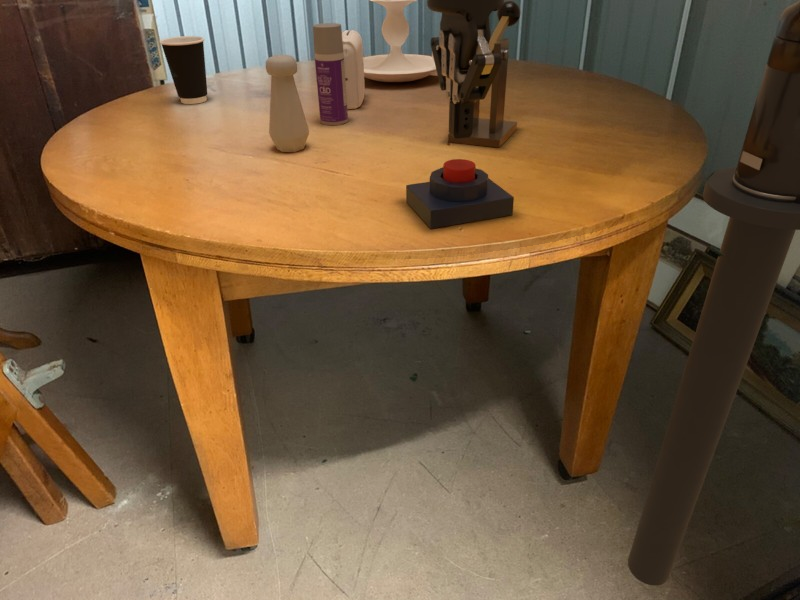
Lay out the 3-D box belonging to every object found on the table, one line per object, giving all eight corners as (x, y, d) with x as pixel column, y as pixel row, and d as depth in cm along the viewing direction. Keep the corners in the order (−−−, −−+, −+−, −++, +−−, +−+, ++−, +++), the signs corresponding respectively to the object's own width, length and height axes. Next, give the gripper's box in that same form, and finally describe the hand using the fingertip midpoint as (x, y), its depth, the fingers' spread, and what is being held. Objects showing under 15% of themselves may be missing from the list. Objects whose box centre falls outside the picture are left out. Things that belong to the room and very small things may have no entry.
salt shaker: (268, 144, 92) (256, 54, 85) (305, 140, 93) (296, 50, 86) (276, 156, 87) (263, 61, 80) (314, 151, 89) (305, 57, 82)
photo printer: (361, 109, 108) (357, 35, 101) (337, 109, 108) (332, 35, 102) (366, 95, 117) (363, 26, 110) (344, 95, 117) (340, 26, 110)
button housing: (482, 190, 75) (483, 159, 72) (512, 215, 68) (515, 181, 66) (406, 202, 72) (405, 170, 70) (430, 229, 65) (430, 194, 63)
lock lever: (501, 18, 96) (500, -5, 93) (523, 19, 94) (523, -4, 92) (473, 69, 88) (471, 46, 86) (497, 71, 87) (496, 48, 84)
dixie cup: (223, 97, 117) (213, 37, 112) (196, 107, 111) (184, 44, 106) (191, 94, 120) (179, 35, 114) (163, 104, 114) (149, 41, 108)
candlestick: (422, 98, 114) (422, -76, 99) (328, 82, 127) (315, -74, 112) (479, 78, 128) (487, -78, 113) (389, 65, 141) (385, -76, 126)
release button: (466, 171, 70) (467, 157, 69) (480, 182, 67) (481, 167, 66) (438, 175, 69) (438, 161, 68) (450, 186, 66) (451, 171, 65)
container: (319, 125, 100) (310, 27, 92) (321, 118, 104) (313, 23, 96) (347, 124, 100) (341, 26, 92) (348, 117, 104) (342, 22, 96)
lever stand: (468, 124, 99) (472, 33, 91) (516, 129, 96) (524, 36, 89) (448, 142, 91) (450, 44, 84) (499, 147, 88) (506, 47, 81)
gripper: (537, -44, 52) (519, 150, 62) (473, -49, 63) (466, 117, 72) (458, -42, 50) (452, 159, 60) (406, -47, 61) (408, 123, 70)
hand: (460, 135), depth 66 cm, fingers closed
